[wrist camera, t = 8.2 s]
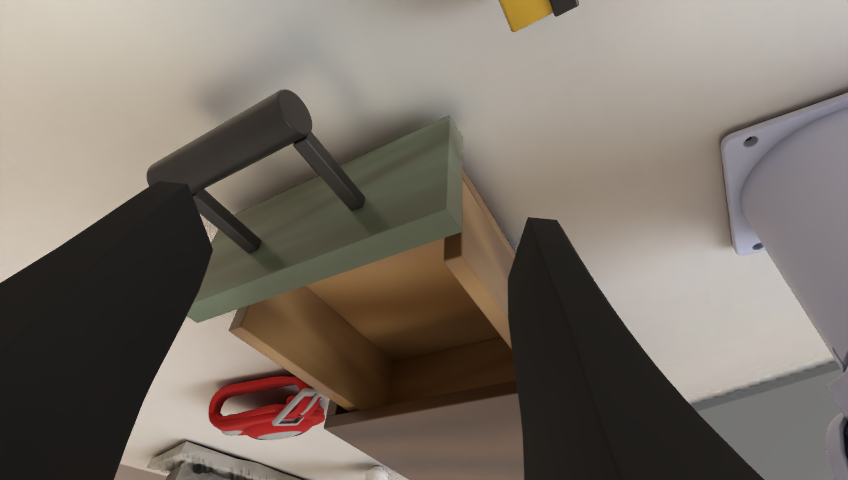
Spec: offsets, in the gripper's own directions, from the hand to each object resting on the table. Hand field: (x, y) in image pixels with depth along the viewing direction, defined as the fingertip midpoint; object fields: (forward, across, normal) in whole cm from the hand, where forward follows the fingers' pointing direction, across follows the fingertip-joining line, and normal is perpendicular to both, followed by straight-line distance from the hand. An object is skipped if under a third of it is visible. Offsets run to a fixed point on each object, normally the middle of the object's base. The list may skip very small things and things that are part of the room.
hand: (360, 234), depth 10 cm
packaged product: (+11, +19, +55) cm, 59 cm away
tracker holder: (+11, +9, +32) cm, 35 cm away
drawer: (+10, +1, +10) cm, 14 cm away
